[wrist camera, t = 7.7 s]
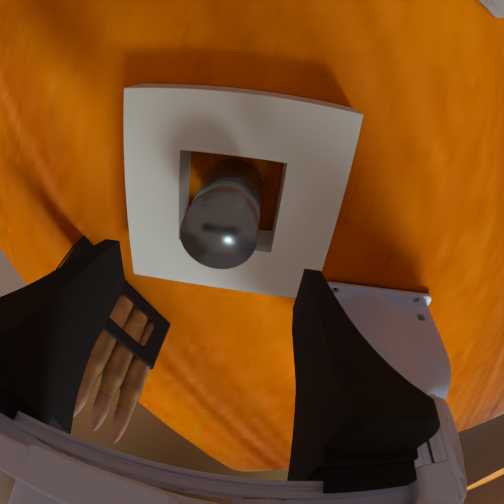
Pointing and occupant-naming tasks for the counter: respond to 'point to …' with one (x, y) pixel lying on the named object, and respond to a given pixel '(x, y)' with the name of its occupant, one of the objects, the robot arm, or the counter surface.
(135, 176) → the socket block
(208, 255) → the metal peg
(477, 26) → the counter surface
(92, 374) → the ammunition clip
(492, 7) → the supplement box
